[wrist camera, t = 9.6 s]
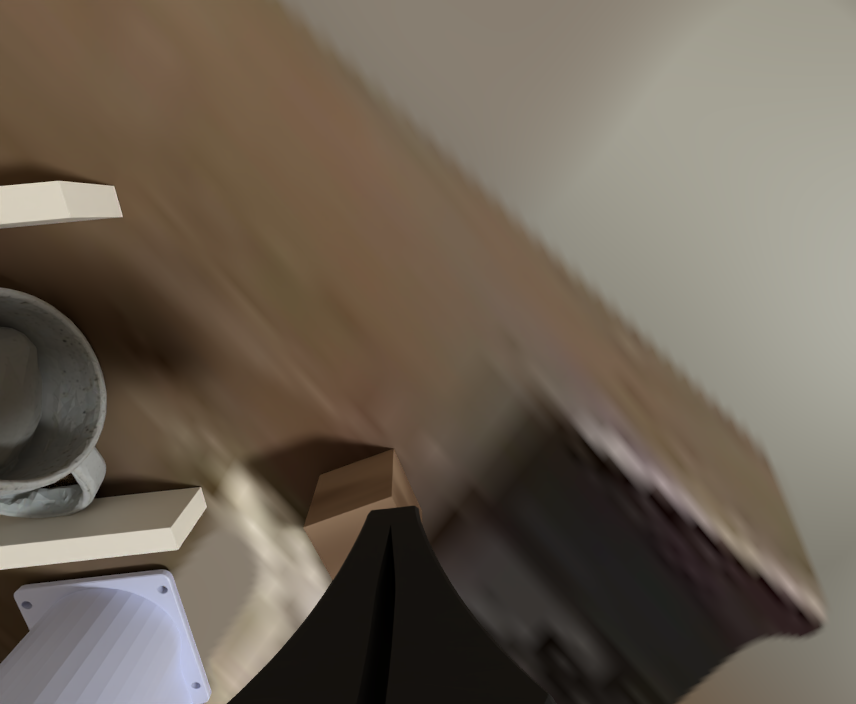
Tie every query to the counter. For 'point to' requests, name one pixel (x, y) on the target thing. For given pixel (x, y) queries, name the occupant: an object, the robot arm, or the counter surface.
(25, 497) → the ceramic mug
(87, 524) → the frame
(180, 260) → the counter surface
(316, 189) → the counter surface
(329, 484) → the walnut block
